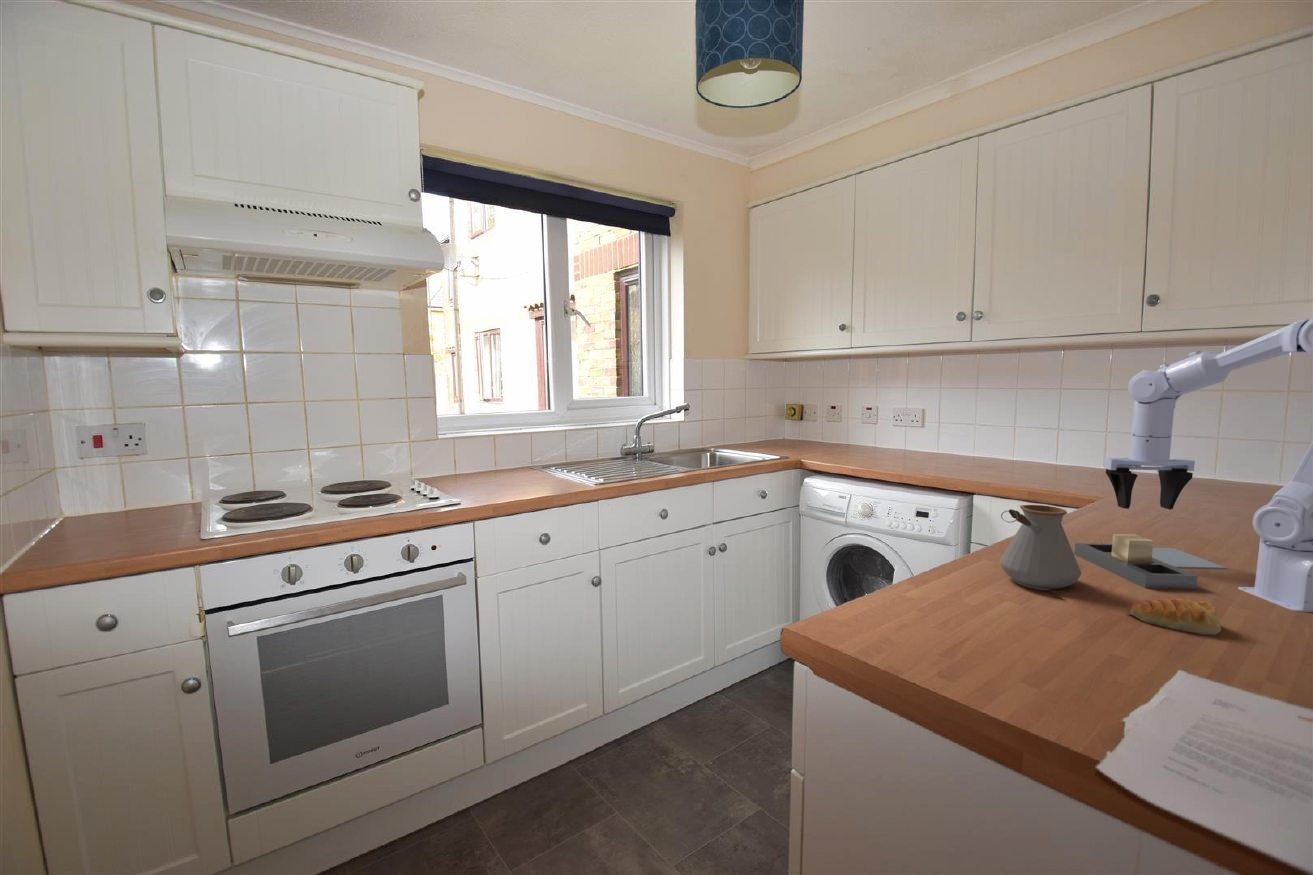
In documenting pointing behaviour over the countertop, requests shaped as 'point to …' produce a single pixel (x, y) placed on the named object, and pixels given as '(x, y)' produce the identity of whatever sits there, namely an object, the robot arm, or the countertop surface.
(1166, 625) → the pastry
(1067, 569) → the coffee pot
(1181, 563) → the mat
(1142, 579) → the tray
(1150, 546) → the peg
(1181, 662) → the countertop surface
